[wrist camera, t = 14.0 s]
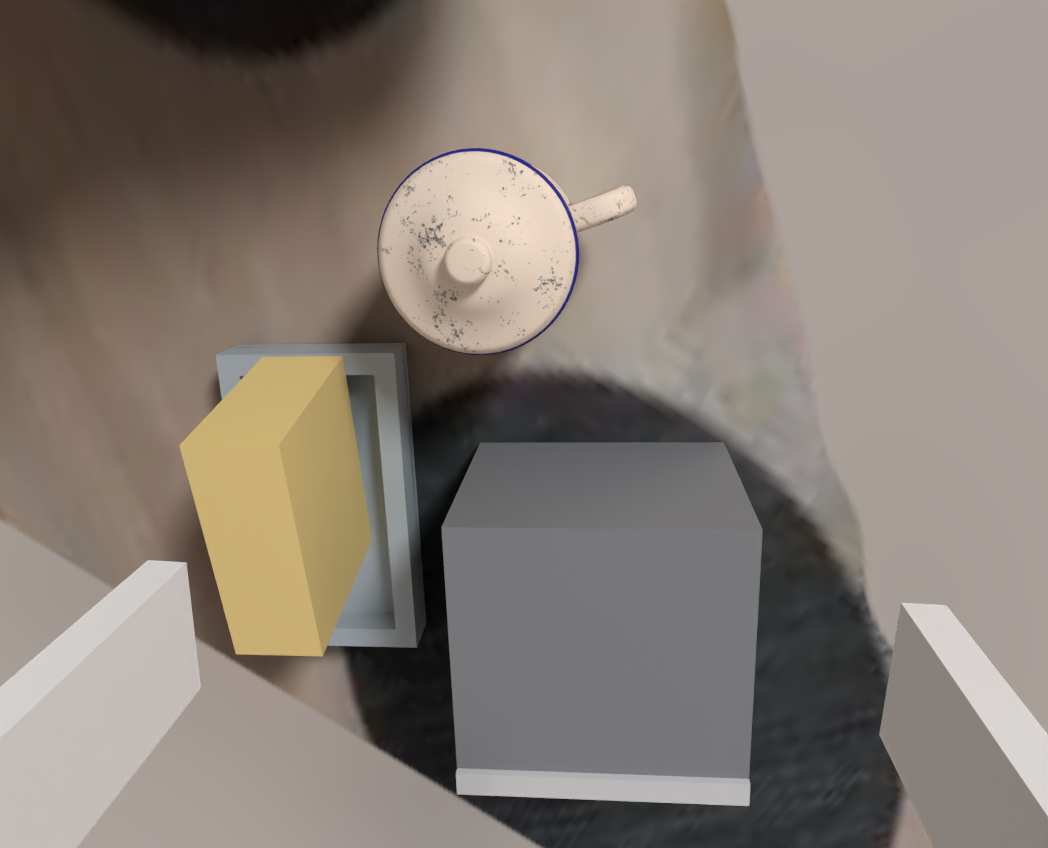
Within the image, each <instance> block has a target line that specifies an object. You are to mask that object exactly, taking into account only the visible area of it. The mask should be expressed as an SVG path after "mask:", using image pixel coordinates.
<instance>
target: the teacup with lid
mask: <svg viewBox="0 0 1048 848" xmlns="http://www.w3.org/2000/svg"><path fill="white" fill-rule="evenodd" d="M635 207H636V198H635V195H634V192H633V190H632V188H631V187H629V186H620V187H617V188H613V189H610V190H607V191H604V192H602V193H599V194H596V195H593V196H590V197H587V198H585V199H582V200H579V201H576V202H573V203H571V204H570V202H569V200H568V198H567V197H566V195H565V194H564V192H563V191H562V189H561V188H560V187H559V186H558V185H557V184H556V182H555V181H554V180H553V179H552V178H550V177H549V176H548V175H547V174H546V173H544V172H543V171H541V170H540V169H538V168H536V167H534V166H533V165H530V164H529V163H527V162H525V161H523V160H522V159H520V158H517V157H515V156H513V155H510V154H507V153H504V152H501V151H496V150H491V149H482V148H470V149H460V150H456V151H451V152H448V153H445V154H442V155H439V156H437V157H435V158H432V159H431V160H429V161H427V162H425V163H424V164H422V165H421V166H419V167H418V168H417V169H415V170H414V171H413V172H412V173H411V174H410V175H408V176H407V177H406V178H405V180H404V181H403V182H402V183H401V184H400V185H399V187H398V188H397V189H396V191H395V192H394V194H393V195H392V197H391V199H390V200H389V202H388V205H387V207H386V209H385V211H384V214H383V217H382V220H381V224H380V228H379V235H378V247H377V251H378V264H379V270H380V274H381V278H382V281H383V284H384V287H385V290H386V292H387V294H388V297H389V298H390V300H391V302H392V304H393V306H394V307H395V309H396V310H397V311H398V313H399V314H400V315H401V317H402V318H403V319H404V320H405V321H406V322H407V323H408V324H409V325H410V326H411V327H412V328H413V329H414V330H415V331H416V332H417V333H419V334H420V335H421V336H423V337H424V338H426V339H427V340H429V341H431V342H432V343H434V344H436V345H438V346H441V347H443V348H445V349H448V350H451V351H454V352H459V353H463V354H471V355H490V354H497V353H503V352H506V351H510V350H513V349H515V348H518V347H520V346H522V345H524V344H526V343H528V342H530V341H532V340H533V339H535V338H536V337H538V336H539V335H540V334H541V333H543V332H544V331H545V330H546V329H547V328H548V327H549V326H550V325H551V324H552V323H553V322H554V321H555V320H556V319H557V317H558V316H559V315H560V313H561V312H562V310H563V309H564V307H565V305H566V303H567V302H568V300H569V297H570V295H571V293H572V290H573V287H574V284H575V281H576V276H577V272H578V264H579V236H578V232H581V231H584V230H586V229H589V228H592V227H595V226H598V225H601V224H603V223H606V222H609V221H611V220H614V219H616V218H619V217H621V216H624V215H626V214H628V213H630V212H632V211H633V210H634V209H635Z"/></svg>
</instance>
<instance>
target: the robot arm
mask: <svg viewBox="0 0 1048 848" xmlns="http://www.w3.org/2000/svg"><path fill="white" fill-rule="evenodd" d="M200 688H201V684H200V675H199V667H198V658H197V649H196V640H195V632H194V623H193V615H192V606H191V597H190V589H189V580H188V571H187V563H186V562H169V561H152V560H148V561H146V562H145V563H144V564H143V565H142V566H141V567H139V568H138V569H137V570H136V571H135V572H134V573H132V574H131V575H130V576H129V577H128V578H127V579H125V580H124V581H123V582H122V583H121V584H120V585H118V586H117V587H116V588H115V589H114V590H113V591H111V592H110V593H109V594H108V595H107V596H106V597H105V598H103V599H102V600H101V601H100V602H99V603H97V604H96V605H95V606H94V607H93V608H92V609H90V610H89V611H88V612H87V613H86V614H85V615H84V616H82V617H81V618H80V619H79V620H78V621H77V622H75V623H74V624H73V625H72V626H71V627H70V628H68V629H67V630H66V631H65V632H64V633H63V634H61V635H60V636H59V637H58V638H57V639H56V640H54V641H53V642H52V643H51V644H50V645H49V646H48V647H46V648H45V649H44V650H43V651H42V652H41V653H39V654H38V655H37V656H36V657H35V658H33V659H32V660H31V661H30V662H29V663H28V664H27V665H25V666H24V667H23V668H22V669H21V670H20V671H18V672H17V673H16V674H15V675H14V676H13V677H11V678H10V679H9V680H8V681H7V682H6V683H4V684H3V685H2V686H1V687H0V848H77V847H78V846H79V844H80V843H81V842H82V841H83V839H84V838H85V837H86V835H87V834H88V833H89V831H90V830H91V829H92V828H93V826H94V825H95V824H96V822H97V821H98V820H99V818H100V817H101V816H102V815H103V813H104V812H105V811H106V810H107V808H108V807H109V805H110V804H111V803H112V802H113V800H114V799H115V798H116V796H117V795H118V794H119V793H120V792H121V790H122V789H123V788H124V786H125V785H126V784H127V782H128V781H129V780H130V778H131V777H132V776H133V775H134V773H135V772H136V771H137V770H138V768H139V767H140V766H141V764H142V763H143V762H144V761H145V759H146V758H147V757H148V755H149V754H150V753H151V752H152V750H153V749H154V748H155V746H156V745H157V744H158V743H159V741H160V740H161V739H162V737H163V736H164V735H165V733H166V732H167V731H168V730H169V728H170V727H171V726H172V724H173V723H174V722H175V721H176V719H177V718H178V717H179V715H180V714H181V713H182V711H183V710H184V709H185V708H186V706H187V705H188V704H189V702H190V701H191V700H192V699H193V697H194V696H195V695H196V694H197V692H198V691H199V690H200ZM879 735H880V737H881V739H882V741H883V743H884V745H885V747H886V749H887V751H888V754H889V756H890V758H891V760H892V762H893V764H894V766H895V768H896V770H897V772H898V774H899V776H900V778H901V780H902V782H903V784H904V786H905V788H906V790H907V793H908V795H909V797H910V799H911V801H912V803H913V805H914V807H915V809H916V811H917V813H918V815H919V817H920V819H921V821H922V823H923V825H924V827H925V829H926V831H927V834H928V836H929V838H930V840H931V842H932V844H933V846H934V848H1048V734H1047V733H1046V732H1045V731H1044V729H1043V728H1042V727H1041V725H1040V724H1039V723H1038V722H1037V720H1036V719H1035V718H1034V717H1033V715H1032V714H1031V713H1030V711H1029V710H1028V709H1027V708H1026V706H1025V705H1024V704H1023V702H1022V701H1021V700H1020V699H1019V698H1018V696H1017V695H1016V694H1015V692H1014V691H1013V690H1012V689H1011V687H1010V686H1009V685H1008V683H1007V682H1006V681H1005V680H1004V678H1003V677H1002V676H1001V674H1000V673H999V672H998V671H997V669H996V668H995V667H994V666H993V664H992V663H991V662H990V660H989V659H988V658H987V657H986V655H985V654H984V653H983V652H982V650H981V649H980V648H979V647H978V645H977V644H976V643H975V641H974V640H973V639H972V638H971V636H970V635H969V634H968V633H967V631H966V630H965V629H964V627H963V626H962V625H961V624H960V622H959V621H958V620H957V618H956V617H955V616H954V615H953V613H952V612H951V611H950V610H949V608H948V607H947V606H946V605H931V604H912V603H901V607H900V614H899V620H898V626H897V632H896V637H895V643H894V649H893V656H892V662H891V668H890V674H889V680H888V686H887V692H886V698H885V704H884V710H883V716H882V722H881V728H880V734H879Z"/></svg>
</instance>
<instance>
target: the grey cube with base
mask: <svg viewBox="0 0 1048 848" xmlns="http://www.w3.org/2000/svg"><path fill="white" fill-rule="evenodd" d="M441 529H442V545H443V560H444V576H445V591H446V606H447V622H448V637H449V652H450V668H451V683H452V698H453V714H454V729H455V744H456V760H457V770H456V786H457V794H461V795H486V796H511V797H536V798H561V799H587V800H612V801H637V802H662V803H687V804H712V805H738V806H749V799H750V781H749V768H750V750H751V731H752V713H753V695H754V677H755V658H756V640H757V622H758V604H759V585H760V567H761V549H762V528H761V525H760V523H759V521H758V519H757V516H756V514H755V512H754V510H753V507H752V505H751V503H750V501H749V498H748V496H747V494H746V492H745V489H744V487H743V485H742V483H741V480H740V478H739V476H738V474H737V471H736V469H735V467H734V465H733V462H732V460H731V458H730V456H729V453H728V451H727V449H726V447H725V444H724V442H606V443H480V444H479V446H478V449H477V451H476V453H475V455H474V457H473V459H472V462H471V464H470V466H469V468H468V470H467V473H466V475H465V477H464V479H463V481H462V483H461V486H460V488H459V490H458V492H457V494H456V497H455V499H454V501H453V503H452V505H451V507H450V510H449V512H448V514H447V516H446V518H445V521H444V523H443V525H442V527H441Z"/></svg>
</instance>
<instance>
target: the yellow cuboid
mask: <svg viewBox="0 0 1048 848" xmlns="http://www.w3.org/2000/svg"><path fill="white" fill-rule="evenodd" d="M179 446H180V450H181V453H182V457H183V461H184V464H185V468H186V472H187V475H188V479H189V483H190V486H191V490H192V494H193V498H194V501H195V505H196V509H197V512H198V516H199V520H200V523H201V527H202V531H203V534H204V538H205V542H206V546H207V549H208V553H209V557H210V560H211V564H212V568H213V571H214V575H215V579H216V582H217V586H218V590H219V593H220V597H221V601H222V605H223V608H224V612H225V616H226V619H227V623H228V627H229V630H230V634H231V638H232V641H233V645H234V649H235V653H236V654H244V655H286V656H323V655H324V652H325V650H326V648H327V645H328V643H329V640H330V638H331V636H332V633H333V631H334V629H335V626H336V624H337V622H338V619H339V617H340V614H341V612H342V610H343V607H344V605H345V603H346V600H347V598H348V596H349V593H350V591H351V588H352V586H353V584H354V581H355V579H356V577H357V574H358V572H359V569H360V567H361V565H362V562H363V560H364V558H365V555H366V553H367V551H368V548H369V546H370V543H371V541H372V536H371V529H370V523H369V517H368V511H367V504H366V498H365V492H364V486H363V479H362V473H361V467H360V461H359V454H358V448H357V442H356V435H355V429H354V423H353V417H352V410H351V404H350V398H349V392H348V385H347V379H346V373H345V367H344V360H343V356H296V357H262V358H261V359H260V360H259V361H258V362H257V363H256V364H255V365H254V366H253V367H252V368H251V369H250V371H249V372H248V373H247V374H246V375H245V376H244V377H243V378H242V379H241V380H240V381H239V382H238V383H237V384H236V386H235V387H234V388H233V389H232V390H231V391H230V392H229V393H228V394H227V395H226V396H225V397H224V398H223V399H222V400H221V402H220V403H219V404H218V405H217V406H216V407H215V408H214V409H213V410H212V411H211V412H210V413H209V414H208V415H207V417H206V418H205V419H204V420H203V421H202V422H201V423H200V424H199V425H198V426H197V427H196V428H195V429H194V430H193V431H192V433H191V434H190V435H189V436H188V437H187V438H186V439H185V440H184V441H183V442H182V443H181V444H180V445H179Z"/></svg>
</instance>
